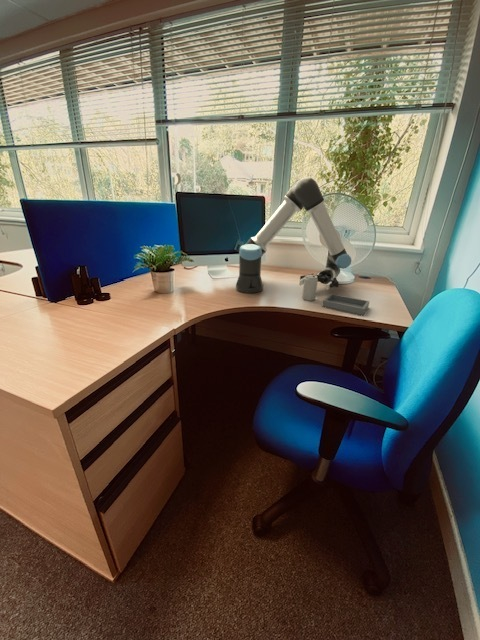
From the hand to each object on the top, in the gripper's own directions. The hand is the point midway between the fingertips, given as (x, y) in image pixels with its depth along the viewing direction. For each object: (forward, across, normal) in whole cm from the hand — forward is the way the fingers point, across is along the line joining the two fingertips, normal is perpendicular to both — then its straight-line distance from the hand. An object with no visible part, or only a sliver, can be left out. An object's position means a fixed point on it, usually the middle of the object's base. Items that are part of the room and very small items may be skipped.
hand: (313, 285), depth 131 cm
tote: (+2, -17, -7) cm, 19 cm away
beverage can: (+2, +1, -7) cm, 8 cm away
